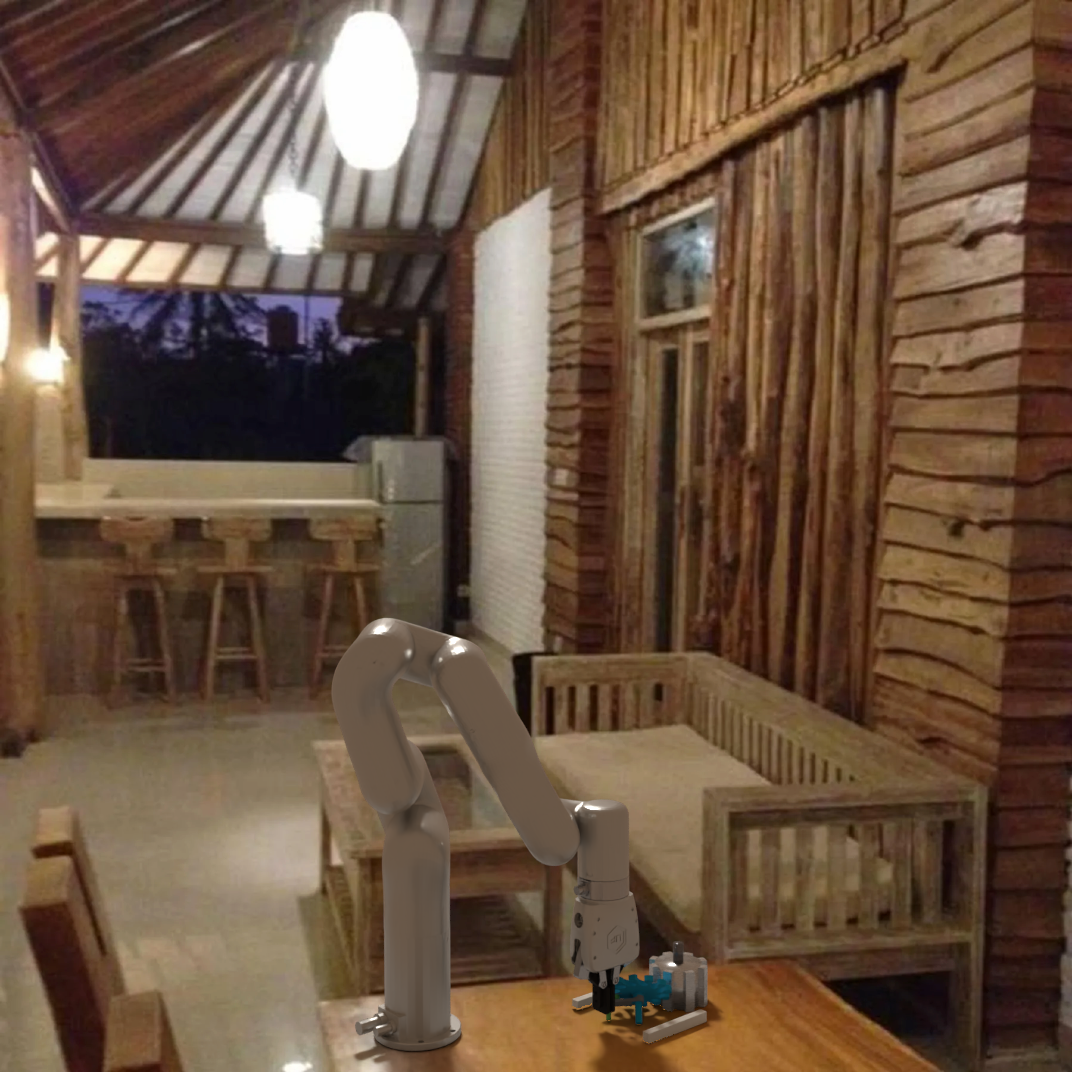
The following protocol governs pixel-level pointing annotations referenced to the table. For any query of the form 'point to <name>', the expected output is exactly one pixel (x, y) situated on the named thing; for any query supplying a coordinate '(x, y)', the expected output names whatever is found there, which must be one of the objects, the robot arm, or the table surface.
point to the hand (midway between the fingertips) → (603, 1010)
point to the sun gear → (681, 978)
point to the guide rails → (660, 1030)
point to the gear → (640, 993)
